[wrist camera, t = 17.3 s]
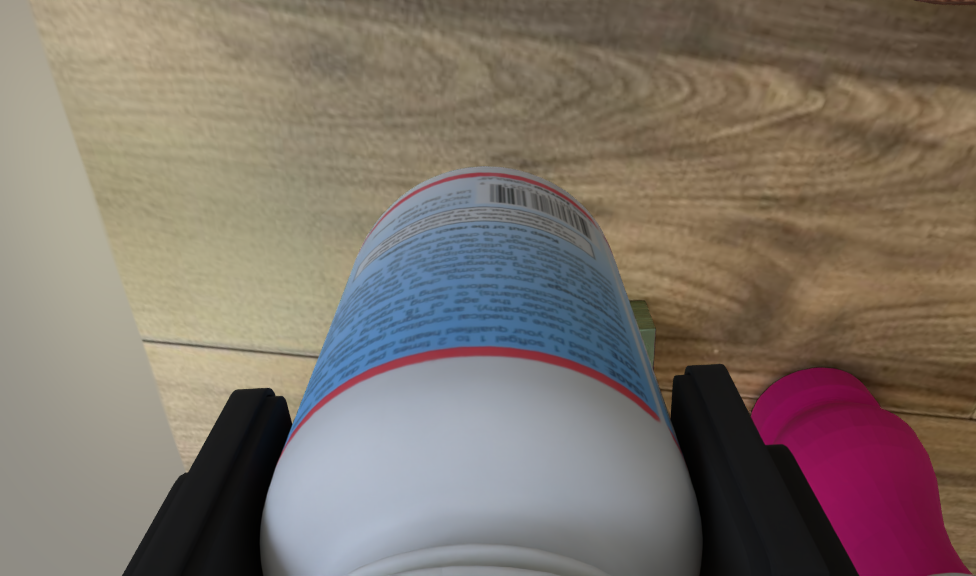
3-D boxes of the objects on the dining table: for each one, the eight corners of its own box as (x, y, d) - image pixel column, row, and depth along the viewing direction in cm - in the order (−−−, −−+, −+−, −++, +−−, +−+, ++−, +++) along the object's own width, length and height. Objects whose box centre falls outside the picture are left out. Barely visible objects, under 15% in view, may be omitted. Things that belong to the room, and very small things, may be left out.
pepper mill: (711, 423, 38) (898, 870, 20) (816, 333, 35) (1140, 761, 17) (801, 484, 40) (1042, 940, 22) (907, 404, 37) (1280, 852, 19)
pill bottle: (305, 268, 16) (20, 799, 7) (505, 102, 15) (523, 498, 5) (471, 423, 19) (445, 1000, 9) (664, 296, 17) (907, 849, 7)
